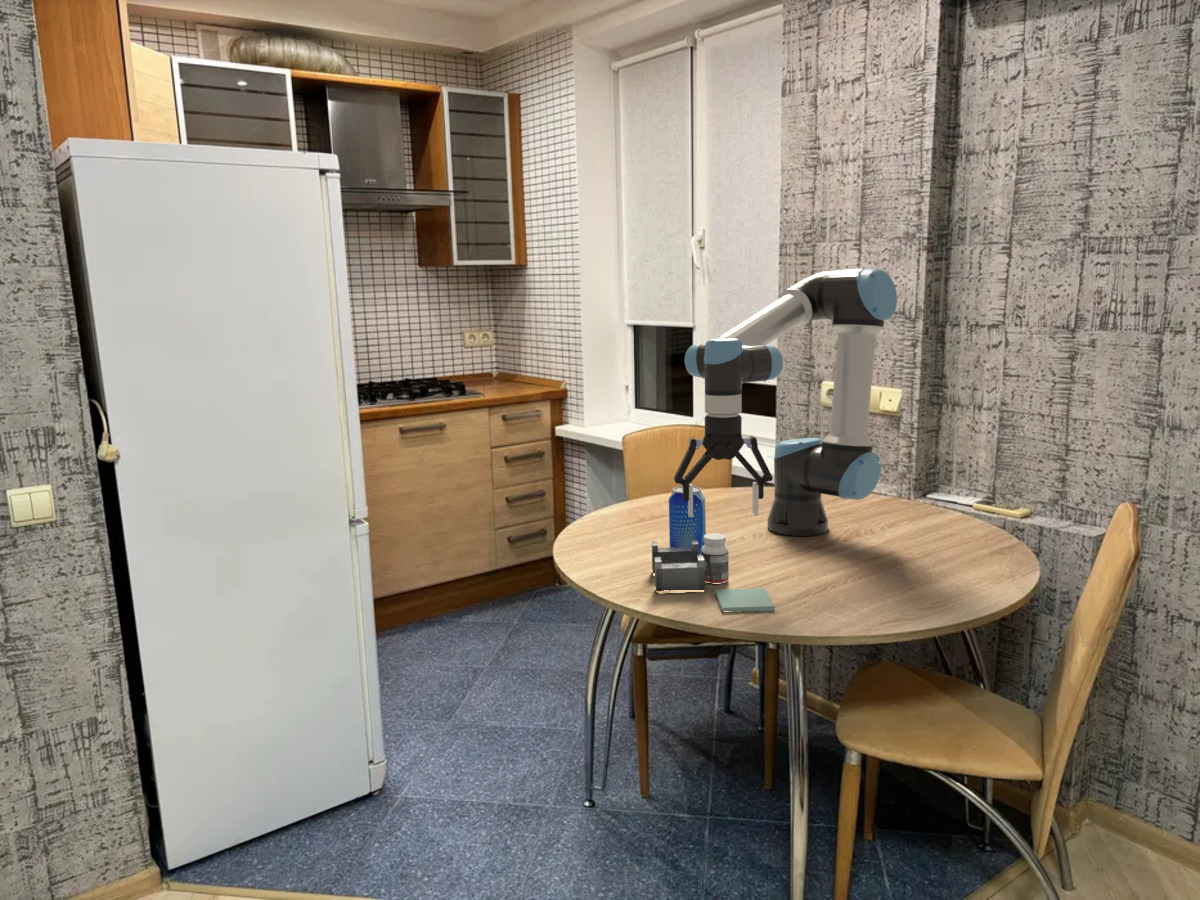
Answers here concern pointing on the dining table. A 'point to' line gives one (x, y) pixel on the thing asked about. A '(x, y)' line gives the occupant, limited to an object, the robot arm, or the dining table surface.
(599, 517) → the dining table surface
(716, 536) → the pill bottle
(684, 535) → the beer can
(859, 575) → the dining table surface
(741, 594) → the coaster
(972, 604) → the dining table surface
